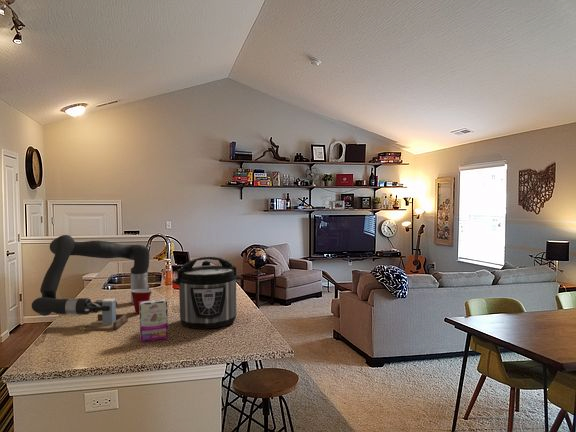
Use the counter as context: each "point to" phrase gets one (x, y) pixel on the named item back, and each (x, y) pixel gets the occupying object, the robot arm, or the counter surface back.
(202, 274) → the pressure cooker
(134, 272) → the robot arm
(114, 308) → the block
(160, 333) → the candy bar box
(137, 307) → the plastic cup
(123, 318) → the shallow wooden tray
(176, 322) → the counter surface
